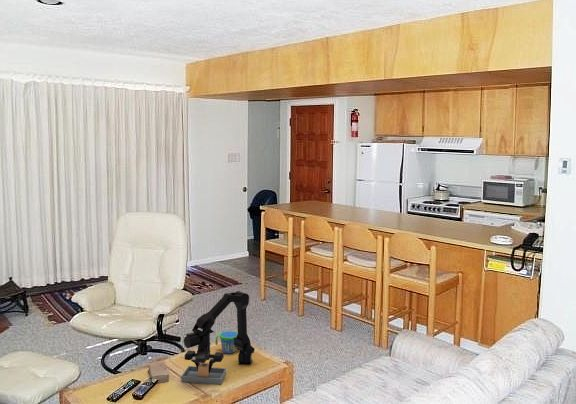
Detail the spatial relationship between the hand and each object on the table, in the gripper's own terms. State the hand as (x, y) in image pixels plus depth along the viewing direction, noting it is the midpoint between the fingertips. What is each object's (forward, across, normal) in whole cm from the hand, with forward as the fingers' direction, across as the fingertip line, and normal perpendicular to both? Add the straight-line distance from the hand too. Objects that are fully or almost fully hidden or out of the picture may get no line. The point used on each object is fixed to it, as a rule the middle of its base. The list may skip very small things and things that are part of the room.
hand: (204, 372), depth 263 cm
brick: (+4, -23, -1) cm, 24 cm away
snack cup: (+3, +5, +34) cm, 35 cm away
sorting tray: (+3, 0, 0) cm, 3 cm away
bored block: (+1, 0, 0) cm, 1 cm away
